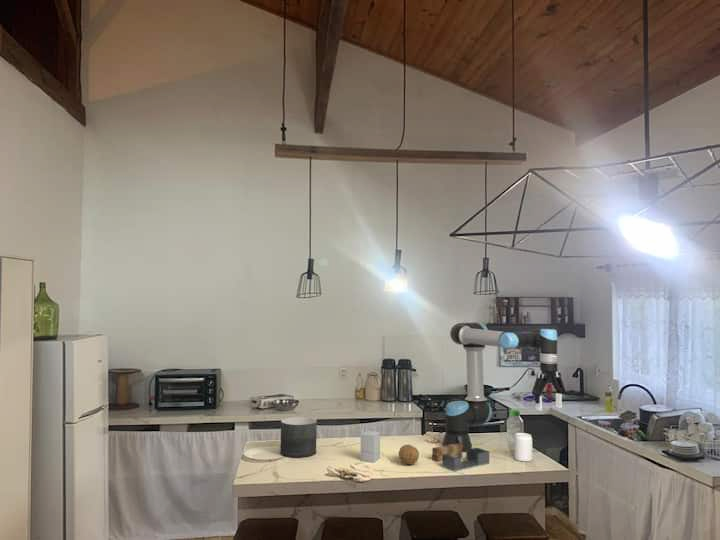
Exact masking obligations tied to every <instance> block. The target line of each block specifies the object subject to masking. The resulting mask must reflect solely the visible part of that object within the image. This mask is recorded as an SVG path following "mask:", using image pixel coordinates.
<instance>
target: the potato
mask: <svg viewBox="0 0 720 540" xmlns="http://www.w3.org/2000/svg"><path fill="white" fill-rule="evenodd" d="M419 453H420V452H419V450H418V449H417V447H415V446H413V445H411V444H405V445H402V446H401V447H400V449H399V451H398V458H399V460H400V461H401V462H402V463H405V464H406V465H413V464H415V463H416V462H418V459H419V457H420V455H419Z"/></svg>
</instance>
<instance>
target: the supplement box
mask: <svg viewBox="0 0 720 540" xmlns="http://www.w3.org/2000/svg"><path fill="white" fill-rule="evenodd" d="M380 436H381V432H380V431H373V430H372V431H371V430H365V431H363V432H362V433H360V461H362V462H370V463H376V462H377V461H379V460H380V459H381V437H380Z"/></svg>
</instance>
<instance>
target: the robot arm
mask: <svg viewBox="0 0 720 540" xmlns="http://www.w3.org/2000/svg"><path fill="white" fill-rule="evenodd" d="M449 334H450V338H451V341H453V343H455V344H456V345H462V347H463V349H464V350H465V353H466V356H465V357H466V359H465V360H466V383H467V384H466V385H467V396H466V397H465V398H464V400H454V401H451V402H448V403H446V405H445V433H444V437H443V441H442V443H441V444H442V445H441V446H446V445H451V444H460V445H462V453H464V452H465V453H466V450H468V449H473V445H472V442H471V439H470V435H469V427H471V426H480V425H484V424H487V423H488V422H490V421H491V418H492V416H493V408H492V406H491V404H490V403H489V402H488V399H487V398H486V396H485V391H484V390H485V387H484V384H485V383H484V368H483V367H484V364H483V363H484V362H483V361H484V359H483V357H484V356H483V350H485V349H486V346H489V347H490V346H491V347H497V348H503V349H505V350H516V349H539V350H540V351H539V361H540V364H539V365H540V366H539V368H540V369H539V370H540V371H541V373H536V379H535V382H534V385H533V388H532V391H531V395H533V396H534V397H535V398H534V399H535V411H539V412H542V411H543V406H542V405H543V399H542V393H543V391H544V390H545V388H546V386H547V385H548V384H551V385H552V387H553V389H555V391H556V393H555V408H558V409H562V408H563V405H562V403H563V395H564V394H565V392H566V387H565V385H564V382H563V379H562V373H561V372H559V371H558V331H557V329H555V328H541V329H540V331H539V332H534V331H520V332H513V331H511V332H510V331H501V330H500V331H499V330H489V329H488V327H487V326H486V325H485V323H484V324H483V323H481V322H459V323H456V324H454V325H453V326H452V327H451V328H450V333H449Z"/></svg>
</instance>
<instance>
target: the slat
mask: <svg viewBox="0 0 720 540" xmlns="http://www.w3.org/2000/svg"><path fill="white" fill-rule="evenodd" d="M448 453H450V454H451V457H454V458H456V457H461V458H463V452H462V445H460V444H451V445H446V446H442V445H440V446H436V447H432V457H431V458H432V460H431V461H433V462H436V463H439V462H442V455H443V454H448Z"/></svg>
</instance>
